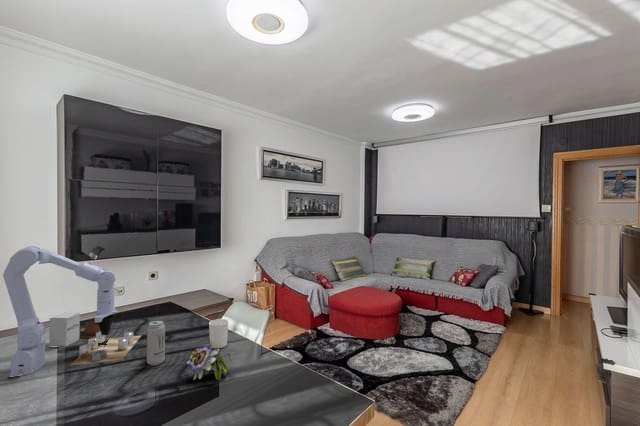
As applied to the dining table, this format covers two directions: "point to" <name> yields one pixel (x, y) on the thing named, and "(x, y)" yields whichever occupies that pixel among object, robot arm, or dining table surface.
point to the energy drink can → (155, 343)
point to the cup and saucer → (90, 329)
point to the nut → (98, 355)
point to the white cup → (218, 332)
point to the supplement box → (64, 329)
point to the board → (108, 351)
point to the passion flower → (206, 361)
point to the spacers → (93, 342)
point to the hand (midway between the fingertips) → (105, 334)
